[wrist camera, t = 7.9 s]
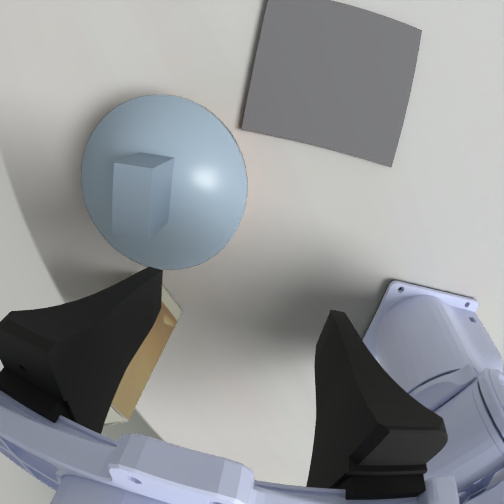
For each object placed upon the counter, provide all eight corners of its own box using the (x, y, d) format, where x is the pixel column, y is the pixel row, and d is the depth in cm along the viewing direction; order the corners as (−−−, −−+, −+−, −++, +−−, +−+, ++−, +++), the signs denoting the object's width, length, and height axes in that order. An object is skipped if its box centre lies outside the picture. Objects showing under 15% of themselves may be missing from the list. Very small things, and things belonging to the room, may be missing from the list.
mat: (419, 31, 15) (421, 30, 14) (389, 166, 19) (391, 167, 19) (270, -10, 15) (270, -11, 15) (242, 129, 20) (241, 129, 19)
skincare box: (138, 331, 29) (80, 429, 18) (110, 297, 28) (37, 390, 17) (187, 310, 27) (130, 425, 16) (156, 270, 25) (78, 377, 15)
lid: (264, 108, 16) (256, 109, 13) (231, 282, 21) (219, 315, 18) (91, 91, 16) (55, 93, 13) (87, 245, 21) (59, 268, 18)
